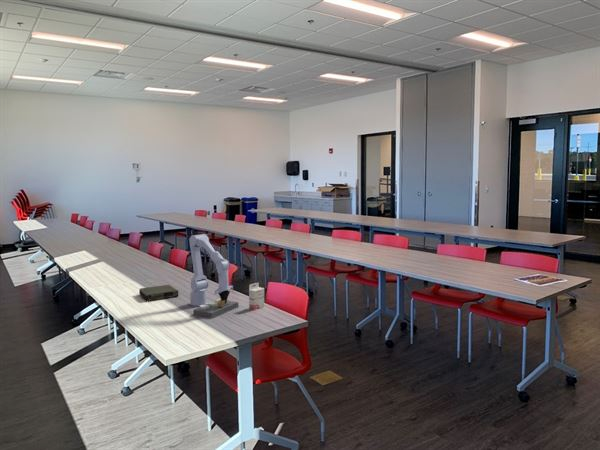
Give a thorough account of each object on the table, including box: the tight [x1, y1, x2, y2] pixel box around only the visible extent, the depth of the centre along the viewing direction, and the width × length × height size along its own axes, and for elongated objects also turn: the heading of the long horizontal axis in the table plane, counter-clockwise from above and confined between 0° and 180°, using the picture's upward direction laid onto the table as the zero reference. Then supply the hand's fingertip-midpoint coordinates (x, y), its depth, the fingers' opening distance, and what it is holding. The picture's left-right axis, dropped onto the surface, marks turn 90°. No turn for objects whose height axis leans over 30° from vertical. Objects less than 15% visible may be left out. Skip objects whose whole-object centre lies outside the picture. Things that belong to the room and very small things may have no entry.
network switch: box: [139, 284, 179, 302], centre depth 303 cm, size 23×23×5 cm
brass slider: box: [217, 298, 225, 307], centre depth 264 cm, size 3×3×4 cm
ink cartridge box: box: [248, 282, 265, 311], centre depth 270 cm, size 9×5×15 cm, turn 141°
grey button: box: [198, 305, 209, 310], centre depth 261 cm, size 4×4×2 cm
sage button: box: [208, 301, 217, 307], centre depth 268 cm, size 4×4×2 cm
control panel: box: [192, 300, 239, 319], centre depth 266 cm, size 14×24×3 cm, turn 150°
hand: (224, 303), depth 266 cm, fingers closed
